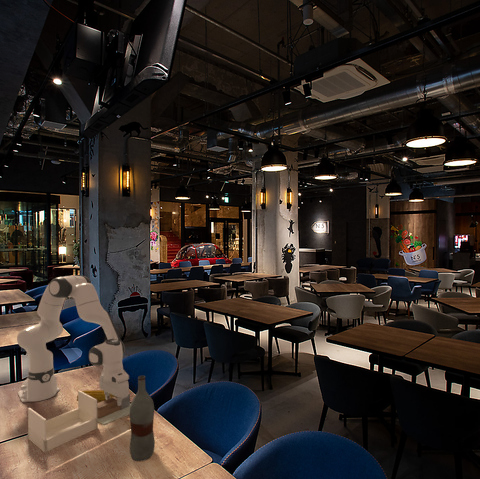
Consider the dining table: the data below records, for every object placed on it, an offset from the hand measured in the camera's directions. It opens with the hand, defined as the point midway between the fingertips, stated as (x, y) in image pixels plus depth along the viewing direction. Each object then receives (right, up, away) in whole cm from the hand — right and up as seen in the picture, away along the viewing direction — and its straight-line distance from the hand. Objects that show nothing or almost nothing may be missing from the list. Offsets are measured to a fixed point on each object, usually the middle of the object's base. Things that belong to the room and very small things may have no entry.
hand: (113, 402), depth 164 cm
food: (-12, -6, +12) cm, 18 cm away
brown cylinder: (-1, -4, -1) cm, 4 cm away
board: (0, -5, 0) cm, 5 cm away
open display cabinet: (-14, -5, -19) cm, 24 cm away
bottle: (+24, -4, -33) cm, 41 cm away
